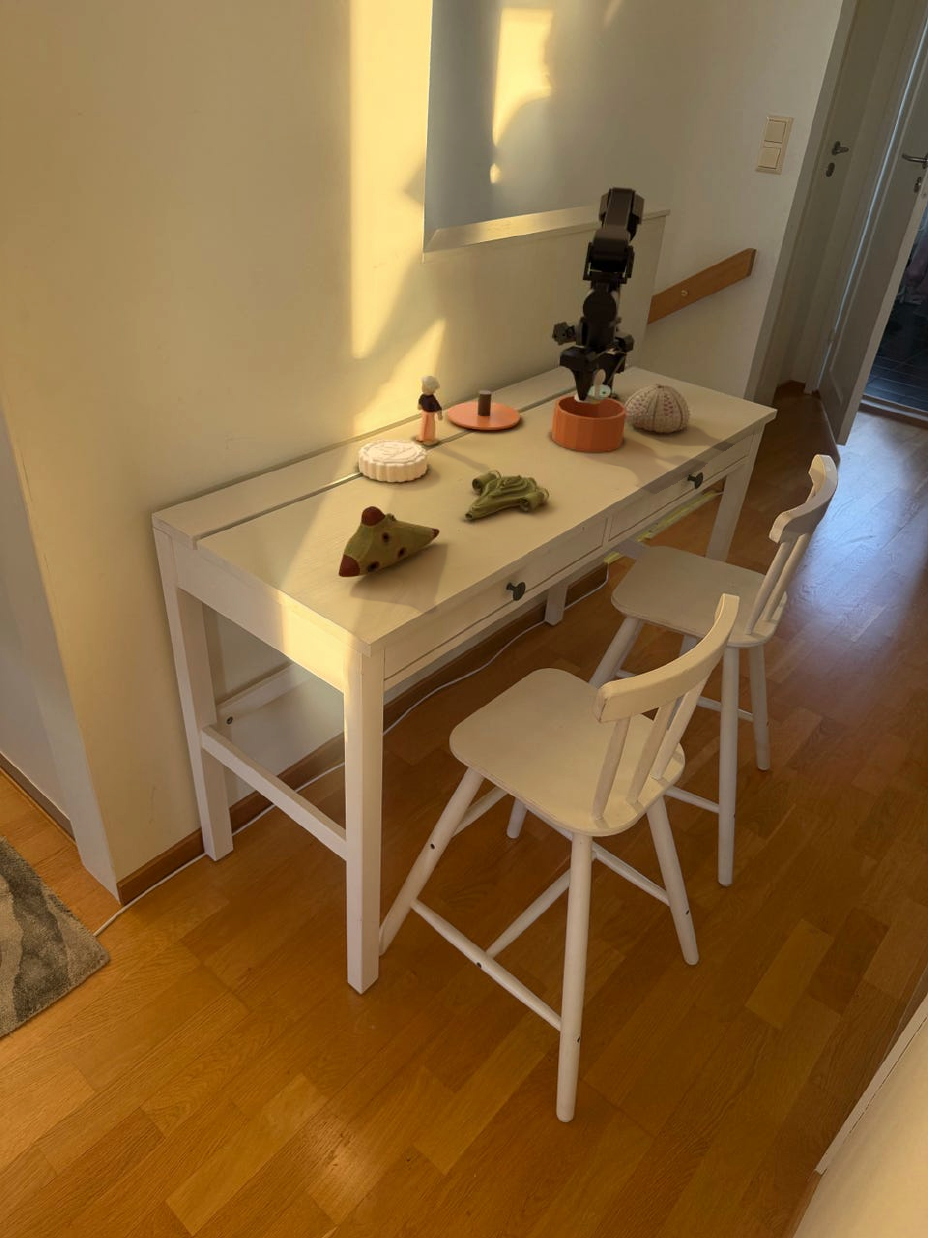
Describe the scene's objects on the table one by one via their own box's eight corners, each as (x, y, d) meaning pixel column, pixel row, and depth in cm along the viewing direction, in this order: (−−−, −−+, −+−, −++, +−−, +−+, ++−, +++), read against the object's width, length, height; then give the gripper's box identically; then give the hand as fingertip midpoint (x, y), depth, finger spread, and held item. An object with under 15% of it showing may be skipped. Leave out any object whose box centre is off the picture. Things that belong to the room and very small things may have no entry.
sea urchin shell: (646, 408, 189) (652, 371, 185) (701, 426, 181) (709, 388, 177) (608, 422, 181) (613, 384, 177) (664, 442, 173) (671, 402, 169)
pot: (573, 420, 181) (577, 389, 178) (633, 437, 175) (638, 405, 171) (538, 439, 172) (541, 406, 168) (600, 458, 165) (605, 424, 162)
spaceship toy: (436, 508, 145) (437, 488, 143) (502, 475, 157) (503, 456, 155) (498, 532, 139) (499, 512, 137) (561, 496, 151) (563, 476, 149)
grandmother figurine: (406, 438, 169) (407, 372, 162) (420, 433, 172) (422, 368, 165) (435, 450, 165) (437, 383, 158) (449, 445, 167) (452, 378, 161)
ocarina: (426, 533, 137) (427, 473, 132) (452, 545, 134) (454, 484, 129) (327, 580, 124) (324, 516, 119) (353, 594, 121) (351, 529, 116)
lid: (474, 401, 188) (476, 375, 185) (533, 418, 181) (535, 391, 178) (432, 420, 178) (433, 392, 175) (493, 438, 171) (494, 410, 168)
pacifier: (568, 403, 168) (597, 409, 165) (571, 370, 164) (601, 375, 162) (583, 392, 173) (612, 398, 171) (586, 360, 170) (616, 365, 167)
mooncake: (388, 449, 164) (388, 431, 162) (440, 467, 159) (441, 448, 157) (344, 470, 156) (344, 450, 154) (398, 489, 150) (398, 469, 148)
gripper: (588, 293, 170) (579, 374, 179) (536, 312, 157) (529, 397, 166) (640, 304, 165) (628, 386, 174) (592, 324, 152) (581, 412, 161)
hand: (591, 395), depth 169 cm, fingers closed on pacifier, 7 cm apart
